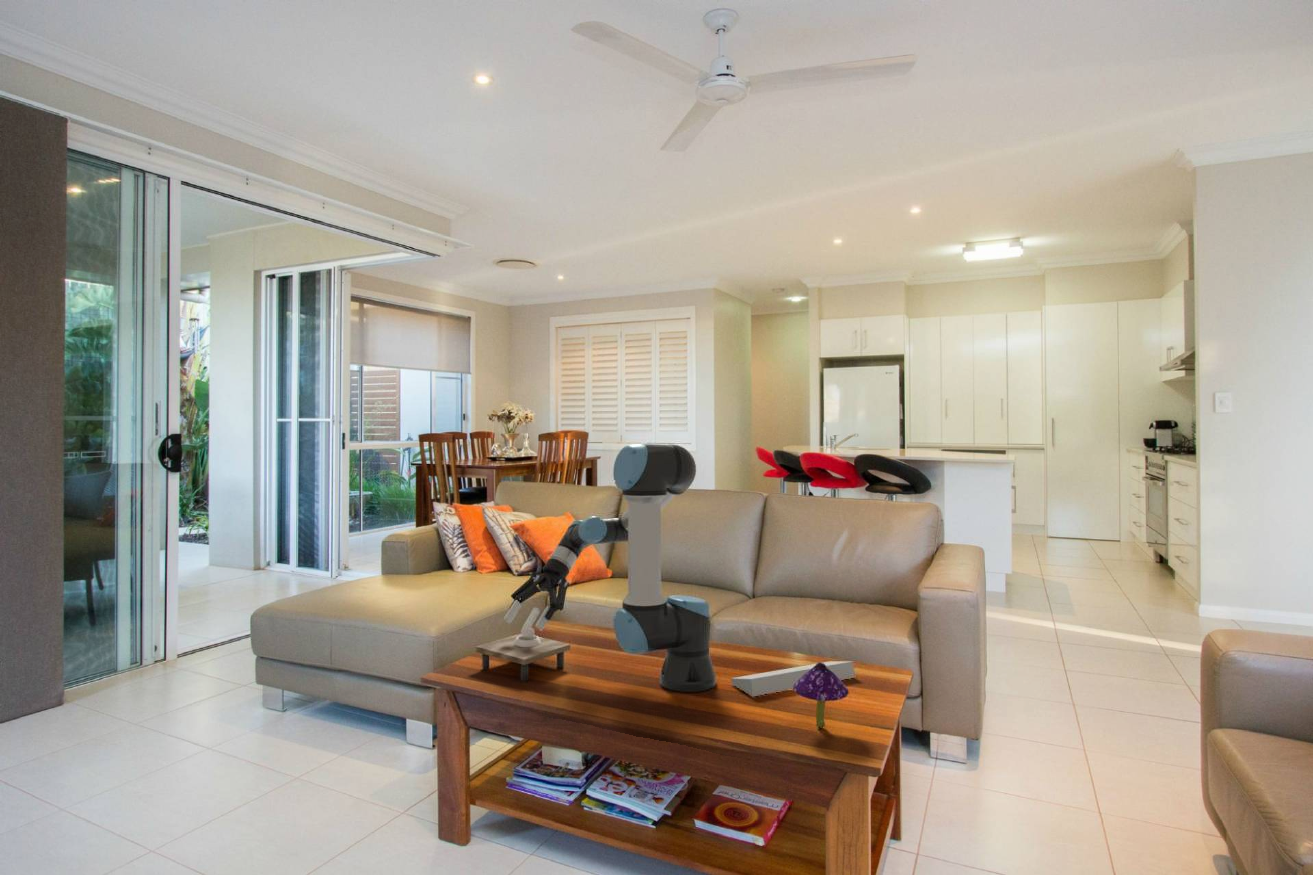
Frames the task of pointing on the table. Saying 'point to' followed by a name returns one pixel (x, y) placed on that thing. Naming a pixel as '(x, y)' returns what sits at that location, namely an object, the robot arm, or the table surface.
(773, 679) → the decorative molding
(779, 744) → the table surface
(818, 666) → the decorative mushroom
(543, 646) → the small wooden table
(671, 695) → the table surface
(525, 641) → the white ring with handle
